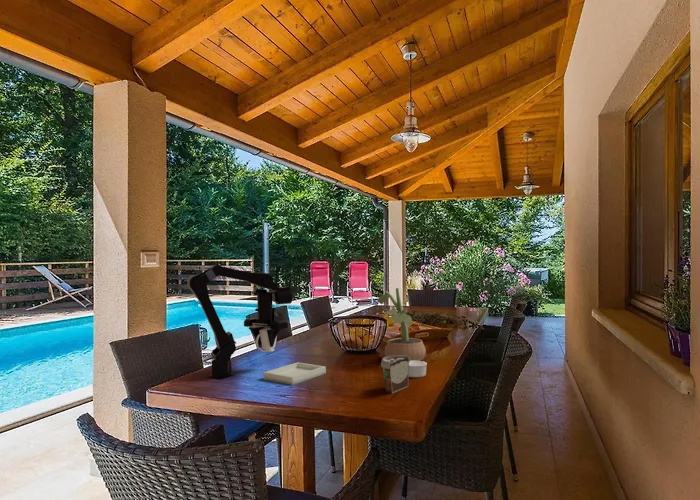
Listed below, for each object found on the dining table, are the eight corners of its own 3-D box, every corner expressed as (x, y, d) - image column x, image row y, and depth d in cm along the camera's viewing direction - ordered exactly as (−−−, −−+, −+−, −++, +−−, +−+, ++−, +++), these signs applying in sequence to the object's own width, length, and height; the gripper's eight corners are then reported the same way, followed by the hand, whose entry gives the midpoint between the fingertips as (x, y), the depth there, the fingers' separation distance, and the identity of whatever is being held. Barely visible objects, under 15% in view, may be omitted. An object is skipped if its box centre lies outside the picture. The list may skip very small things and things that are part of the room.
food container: (395, 382, 162) (394, 353, 162) (410, 385, 158) (409, 355, 158) (373, 391, 152) (372, 360, 152) (389, 394, 148) (388, 362, 148)
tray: (292, 385, 162) (292, 377, 162) (263, 379, 170) (263, 372, 170) (325, 373, 176) (325, 366, 176) (297, 368, 184) (297, 362, 184)
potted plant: (391, 353, 208) (389, 285, 208) (431, 356, 200) (429, 285, 200) (370, 365, 188) (368, 289, 188) (413, 368, 180) (411, 289, 180)
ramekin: (400, 372, 176) (400, 360, 176) (424, 371, 176) (423, 359, 176) (404, 378, 167) (404, 366, 167) (429, 377, 167) (429, 365, 167)
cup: (281, 349, 185) (281, 329, 185) (263, 354, 177) (263, 333, 177) (268, 348, 189) (268, 327, 189) (250, 352, 181) (249, 331, 181)
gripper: (297, 304, 184) (298, 344, 184) (263, 302, 195) (264, 340, 195) (276, 307, 175) (277, 349, 175) (242, 305, 186) (243, 345, 186)
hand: (265, 345), depth 183 cm, fingers closed on cup, 6 cm apart
